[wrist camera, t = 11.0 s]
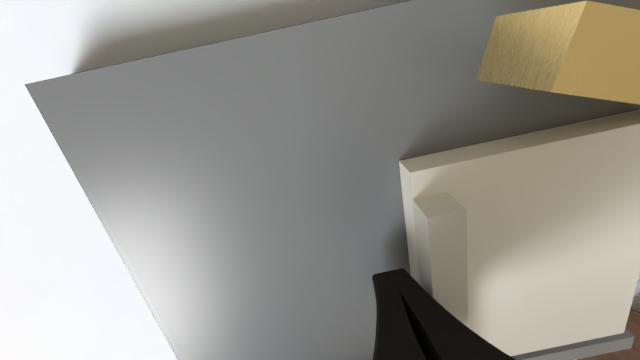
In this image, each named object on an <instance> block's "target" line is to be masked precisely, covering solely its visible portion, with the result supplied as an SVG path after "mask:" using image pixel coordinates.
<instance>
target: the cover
mask: <svg viewBox="0 0 640 360" xmlns="http://www.w3.org/2000/svg"><path fill="white" fill-rule="evenodd" d="M399 168H400V178H401V187H402V197H403V207H404V216H405V226H406V235H407V245H408V255H409V264H410V274H411V276H412V277H413V278H414V279H415V280H416V281H417V283H418V284H419V285H420V286H421V287H422V288H423V289H424V290H425V291H426V292H427V293H429V294H430V295H431V296H432V297H433V298H434V299H435V300H436V301H437V302H438V303H439V304H440V305H442V306H443V307H444V308H445V309H446V310H447V311H448V312H450V313H451V314H452V315H453V316H454V317H456V318H457V319H458V320H459V321H461V322H462V323H463V324H464V325H466V326H467V327H468V328H470V329H471V330H472V331H474V332H475V333H476V334H478V335H479V336H480V337H482V338H483V339H485V340H486V341H488V342H489V343H490V344H492V345H493V346H495V347H496V348H498V349H499V350H501V351H502V352H504V353H506V354H507V355H509V356H515V355H519V354H524V353H529V352H534V351H539V350H543V349H548V348H553V347H558V346H563V345H568V344H572V343H577V342H582V341H587V340H592V339H596V338H601V337H606V336H611V335H616V334H621V333H624V331H625V327H626V324H627V320H628V316H629V312H630V309H631V305H632V301H633V297H634V294H635V290H636V286H637V282H638V278H639V275H640V109H639V110H634V111H630V112H625V113H620V114H616V115H611V116H606V117H602V118H597V119H592V120H588V121H583V122H578V123H573V124H569V125H564V126H559V127H555V128H550V129H545V130H541V131H536V132H531V133H527V134H522V135H517V136H513V137H508V138H503V139H499V140H494V141H489V142H484V143H480V144H475V145H470V146H466V147H461V148H456V149H452V150H447V151H442V152H438V153H433V154H428V155H424V156H419V157H414V158H409V159H405V160H400V161H399Z"/></svg>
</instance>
